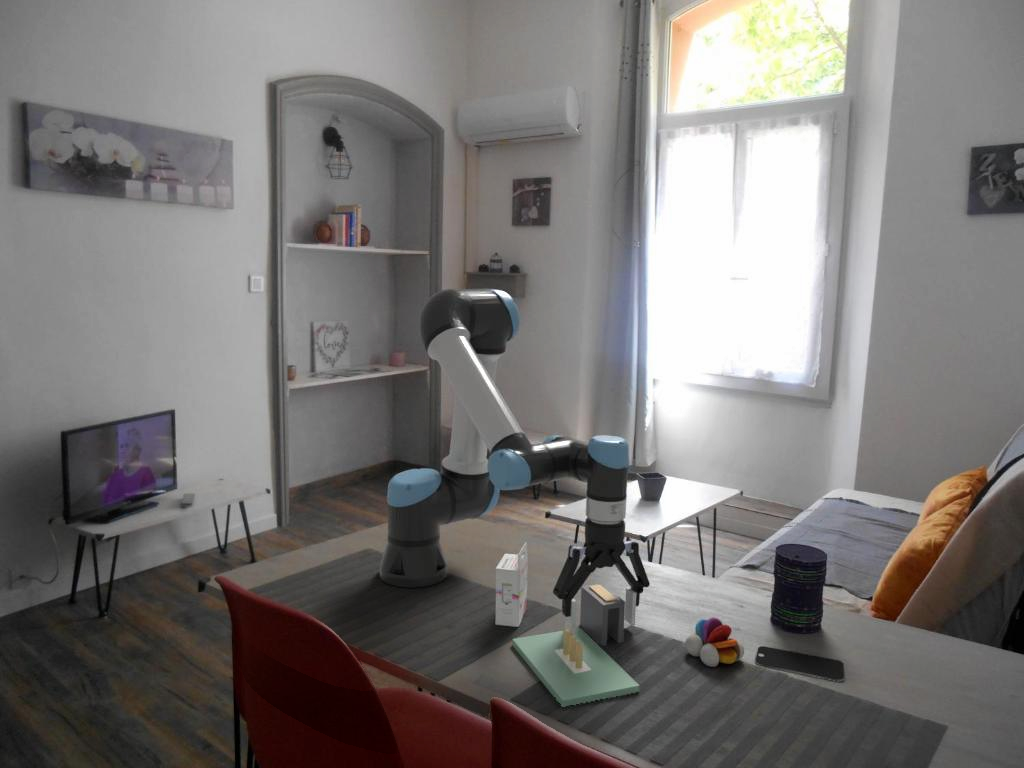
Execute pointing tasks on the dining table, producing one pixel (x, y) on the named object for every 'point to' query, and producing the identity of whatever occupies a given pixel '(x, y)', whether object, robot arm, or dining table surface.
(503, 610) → the ink cartridge box
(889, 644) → the dining table surface
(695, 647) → the rainbow wheeled toy
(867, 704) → the dining table surface
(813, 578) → the storage jar
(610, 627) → the plug housing
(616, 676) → the header board
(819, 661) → the smartphone
